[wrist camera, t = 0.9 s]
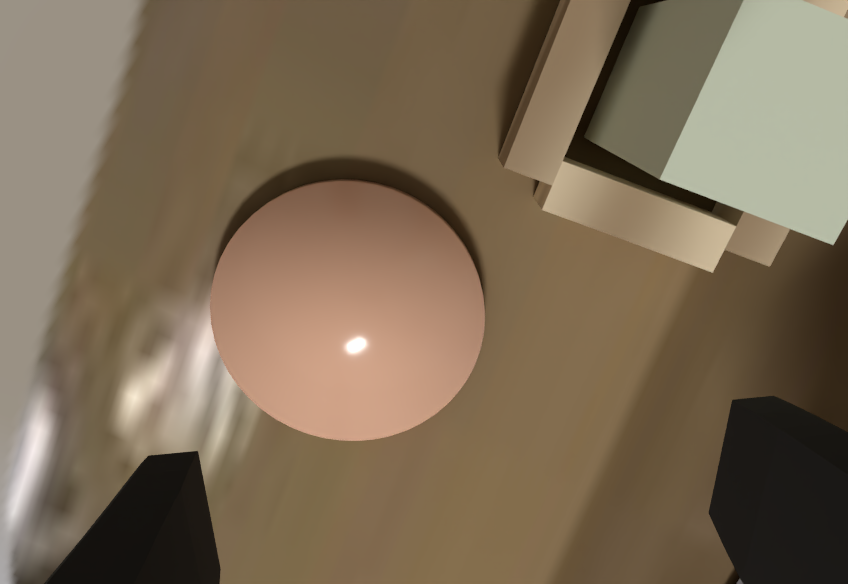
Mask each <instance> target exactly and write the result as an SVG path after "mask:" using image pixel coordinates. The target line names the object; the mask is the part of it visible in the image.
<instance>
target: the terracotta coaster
mask: <svg viewBox="0 0 848 584" xmlns="http://www.w3.org/2000/svg"><path fill="white" fill-rule="evenodd" d="M210 312H211V325H212V329H213V334H214V339H215V342H216V345H217V348H218V350H219V353H220V356H221V358H222V360H223V362H224V364H225V366H226V368H227V370H228V372H229V373H230V375H231V376H232V378H233V379H234V380H235V382H236V383H237V385H238V386H239V387H240V388H241V389H242V391H243V392H244V393H245V394H246V395H247V396H248V397H249V398H250V399H251V400H252V401H253V402H254V403H255V404H256V405H257V406H259V407H260V408H261V409H262V410H263V411H265V412H266V413H268V414H269V415H271V416H272V417H274V418H275V419H276V420H278V421H280V422H282V423H284V424H286V425H288V426H290V427H292V428H294V429H297V430H299V431H302V432H304V433H307V434H311V435H315V436H318V437H322V438H328V439H335V440H347V441H361V440H372V439H378V438H383V437H387V436H392V435H395V434H398V433H400V432H403V431H406V430H408V429H411V428H413V427H415V426H417V425H419V424H421V423H423V422H424V421H426V420H427V419H429V418H430V417H432V416H433V415H435V414H436V413H437V412H439V411H440V410H441V409H442V408H443V407H444V406H446V405H447V404H448V403H449V402H450V401H451V400H452V398H453V397H454V396H455V395H456V394H457V393H458V392H459V391H460V389H461V388H462V386H463V385H464V383H465V382H466V380H467V379H468V377H469V375H470V373H471V371H472V369H473V367H474V365H475V364H476V361H477V358H478V355H479V352H480V349H481V345H482V340H483V335H484V325H485V308H484V297H483V292H482V287H481V283H480V279H479V275H478V272H477V269H476V267H475V264H474V262H473V259H472V257H471V255H470V253H469V252H468V250H467V248H466V246H465V244H464V243H463V241H462V240H461V239H460V237H459V236H458V234H457V233H456V232H455V230H454V229H453V228H452V227H451V226H450V225H449V224H448V223H447V222H446V221H445V220H444V219H443V218H442V217H441V216H440V215H439V214H438V213H437V212H435V211H434V210H433V209H431V208H430V207H429V206H428V205H426V204H425V203H423V202H421V201H420V200H418V199H416V198H415V197H413V196H411V195H409V194H407V193H405V192H403V191H400V190H398V189H396V188H393V187H390V186H386V185H383V184H380V183H376V182H370V181H364V180H356V179H335V180H326V181H319V182H314V183H310V184H306V185H302V186H300V187H297V188H295V189H292V190H290V191H287V192H285V193H283V194H281V195H280V196H278V197H276V198H274V199H272V200H271V201H269V202H268V203H267V204H265V205H264V206H263V207H261V208H260V209H259V210H257V211H256V212H255V213H254V214H253V215H252V216H251V217H250V218H249V219H248V220H247V221H246V222H245V223H244V224H243V225H242V226H241V227H240V228H239V229H238V230H237V232H236V233H235V234H234V236H233V237H232V238H231V240H230V241H229V243H228V245H227V246H226V248H225V250H224V252H223V254H222V256H221V258H220V260H219V263H218V266H217V269H216V271H215V275H214V279H213V284H212V289H211V301H210Z"/></svg>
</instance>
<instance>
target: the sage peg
mask: <svg viewBox="0 0 848 584" xmlns="http://www.w3.org/2000/svg"><path fill="white" fill-rule="evenodd" d="M584 138H586V139H588V140H590V141H591V142H593V143H595V144H597V145H599V146H600V147H602V148H604V149H606V150H608V151H609V152H611V153H613V154H615V155H617V156H618V157H620V158H622V159H624V160H626V161H627V162H629V163H631V164H633V165H635V166H636V167H638V168H640V169H642V170H644V171H645V172H647V173H649V174H651V175H653V176H654V177H656V178H658V179H660V180H662V181H665V182H668V183H670V184H673V185H676V186H678V187H681V188H684V189H686V190H689V191H691V192H694V193H697V194H699V195H702V196H705V197H707V198H710V199H713V200H715V201H718V202H720V203H723V204H726V205H728V206H731V207H734V208H736V209H739V210H742V211H744V212H747V213H750V214H752V215H755V216H757V217H760V218H763V219H765V220H768V221H771V222H773V223H776V224H779V225H781V226H784V227H786V228H789V229H792V230H794V231H797V232H800V233H802V234H805V235H808V236H810V237H813V238H816V239H818V240H821V241H823V242H826V243H829V244H831V245H834V243H835V241H836V239H837V238H838V236H839V234H840V232H841V230H842V229H843V227H844V225H845V223H846V222H847V220H848V19H847V18H844V17H842V16H840V15H837V14H835V13H832V12H830V11H827V10H825V9H823V8H820V7H818V6H815V5H813V4H810V3H808V2H806V1H803V0H666V1H662V2H658V3H654V4H649V5H645V6H641V7H639V9H638V11H637V14H636V16H635V18H634V21H633V23H632V25H631V28H630V30H629V32H628V35H627V37H626V39H625V42H624V44H623V46H622V49H621V51H620V53H619V56H618V58H617V60H616V63H615V65H614V67H613V70H612V72H611V74H610V77H609V79H608V82H607V84H606V86H605V89H604V91H603V93H602V96H601V98H600V100H599V103H598V105H597V107H596V110H595V112H594V114H593V117H592V119H591V121H590V124H589V126H588V128H587V131H586V133H585V135H584Z"/></svg>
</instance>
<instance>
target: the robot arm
mask: <svg viewBox="0 0 848 584" xmlns="http://www.w3.org/2000/svg"><path fill="white" fill-rule="evenodd" d="M709 515H710V517H711V519H712V521H713V524H714V526H715V528H716V530H717V532H718V534H719V537H720V539H721V541H722V543H723V545H724V547H725V550H726V552H727V554H728V556H729V558H730V559H731V561H732V563H733V565H734V567H735V569H736V571H737V573H738V575H739V577H740V579H739V580H738V582H737V584H848V432H846V431H844V430H842V429H840V428H838V427H836V426H835V425H833V424H831V423H829V422H827V421H825V420H823V419H821V418H819V417H817V416H815V415H813V414H811V413H809V412H807V411H805V410H803V409H801V408H799V407H797V406H795V405H793V404H791V403H789V402H786V401H784V400H782V399H780V398H777V397H775V396H768V397H757V398H747V399H737V400H732V404H731V409H730V413H729V418H728V423H727V428H726V433H725V437H724V442H723V447H722V452H721V456H720V461H719V466H718V471H717V476H716V480H715V485H714V490H713V495H712V500H711V504H710V509H709ZM219 582H220V564H219V559H218V554H217V548H216V543H215V538H214V533H213V527H212V522H211V517H210V512H209V507H208V501H207V496H206V491H205V486H204V481H203V475H202V470H201V465H200V460H199V455H198V451H193V452H183V453H172V454H162V455H151V456H148V457H147V458H146V459H145V460H144V461H143V462H142V463H141V464H140V466H139V467H138V468H137V469H136V471H135V472H134V473H133V474H132V476H131V477H130V478H129V479H128V481H127V482H126V483H125V485H124V486H123V487H122V488H121V490H120V491H119V492H118V494H117V495H116V496H115V497H114V499H113V500H112V501H111V503H110V504H109V505H108V506H107V508H106V509H105V510H104V511H103V513H102V514H101V515H100V516H99V518H98V519H97V520H96V521H95V523H94V524H93V525H92V526H91V528H90V529H89V530H88V531H87V533H86V534H85V535H84V536H83V538H82V539H81V540H80V541H79V543H78V544H77V545H76V546H75V547H74V549H73V550H72V551H71V552H70V553H69V555H68V556H67V557H66V558H65V559H64V560H63V562H62V563H61V564H60V565H59V566H58V568H57V569H56V570H55V571H54V572H53V574H52V575H51V576H50V577H49V578H48V580H47V581H46V582H45V583H44V584H219Z"/></svg>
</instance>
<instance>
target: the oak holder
mask: <svg viewBox="0 0 848 584" xmlns="http://www.w3.org/2000/svg"><path fill="white" fill-rule="evenodd" d="M630 1H631V0H560V2H559V5H558V7H557V10H556V12H555V15H554V18H553V20H552V23H551V25H550V28H549V30H548V33H547V35H546V38H545V40H544V43H543V45H542V48H541V50H540V53H539V56H538V58H537V61H536V63H535V66H534V68H533V71H532V73H531V76H530V78H529V81H528V83H527V86H526V89H525V91H524V94H523V96H522V99H521V101H520V104H519V106H518V109H517V111H516V114H515V116H514V119H513V122H512V124H511V127H510V129H509V132H508V134H507V137H506V139H505V142H504V144H503V147H502V149H501V152H500V154H499V157H498V159H499V160H500V162H501V164H502V165H503V167H504V168H506V169H509V170H512V171H514V172H517V173H520V174H522V175H525V176H528V177H530V178H533V179H536V180H538V181H540V182H539V184H538V187H537V189H536V191H535V194H534V196H533V197H534V199H535V200H536V202H537V203H538V205H539V206H540V207H541V209H542V210H544V211H547V212H550V213H552V214H555V215H558V216H560V217H563V218H566V219H569V220H571V221H574V222H577V223H579V224H582V225H585V226H588V227H590V228H593V229H596V230H598V231H601V232H604V233H607V234H609V235H612V236H615V237H617V238H620V239H623V240H626V241H628V242H631V243H634V244H636V245H639V246H642V247H645V248H647V249H650V250H653V251H655V252H658V253H661V254H664V255H666V256H669V257H672V258H674V259H677V260H680V261H683V262H685V263H688V264H691V265H693V266H696V267H699V268H702V269H704V270H707V271H710V272H712V273H713V271H714V269H715V267H716V265H717V263H718V261H719V259H720V257H721V255H722V253H723V251H724V250H726V251H729V252H732V253H735V254H737V255H740V256H743V257H745V258H748V259H751V260H753V261H756V262H759V263H761V264H764V265H767V266H769V267H770V265H771V264H772V262H773V260H774V258H775V256H776V254H777V252H778V251H779V249H780V247H781V245H782V243H783V241H784V239H785V238H786V236H787V234H788V232H789V230H790V229H789V228H786V227H784V226H781V225H779V224H776V223H773V222H771V221H768V220H765V219H763V218H760V217H757V216H755V215H752V214H750V213H747V212H744V211H742V210H739V209H736V208H734V207H731V206H728V205H726V204H723V203H720V202H718V201H717V202H716V204H715V206H714V208H713V210H712V212H710V211H707V210H705V209H702V208H699V207H697V206H694V205H691V204H689V203H686V202H683V201H681V200H678V199H675V198H673V197H670V196H667V195H665V194H662V193H659V192H657V191H654V190H651V189H649V188H646V187H644V186H641V185H638V184H636V183H633V182H630V181H628V180H625V179H622V178H620V177H617V176H614V175H612V174H609V173H606V172H604V171H601V170H598V169H596V168H593V167H590V166H588V165H585V164H582V163H580V162H577V161H575V160H572V159H569V158H567V157H565V154H566V152H567V150H568V147H569V145H570V142H571V140H572V138H573V135H574V133H575V131H576V128H577V126H578V124H579V121H580V119H581V116H582V114H583V112H584V109H585V107H586V105H587V102H588V100H589V98H590V95H591V93H592V90H593V88H594V86H595V83H596V81H597V79H598V76H599V74H600V72H601V69H602V67H603V64H604V62H605V60H606V57H607V55H608V53H609V50H610V48H611V46H612V43H613V41H614V38H615V36H616V34H617V31H618V29H619V27H620V24H621V22H622V20H623V17H624V15H625V12H626V10H627V8H628V5H629V3H630ZM803 1H806V2H808V3H810V4H813V5H815V6H818V7H820V8H823V9H825V10H827V11H830V12H832V13H835V14H837V15H840V16H842V17H844V18H847V19H848V11H847V10H848V0H803Z"/></svg>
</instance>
